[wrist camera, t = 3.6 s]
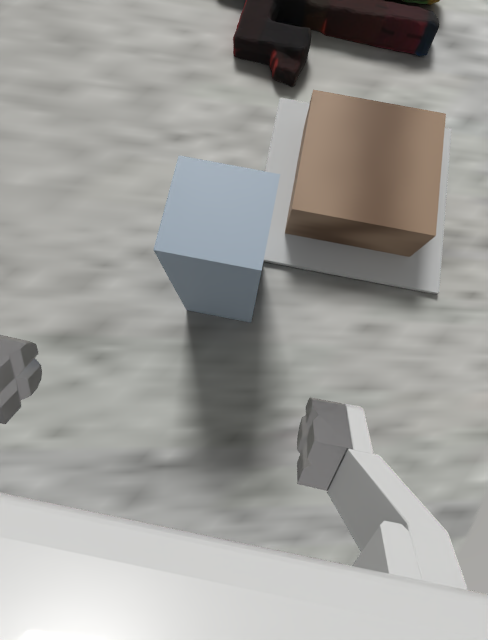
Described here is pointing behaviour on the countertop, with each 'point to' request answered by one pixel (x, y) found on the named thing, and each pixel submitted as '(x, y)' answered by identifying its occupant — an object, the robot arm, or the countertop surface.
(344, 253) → the mat
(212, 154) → the countertop surface
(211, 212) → the post
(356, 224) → the base block
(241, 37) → the toy
